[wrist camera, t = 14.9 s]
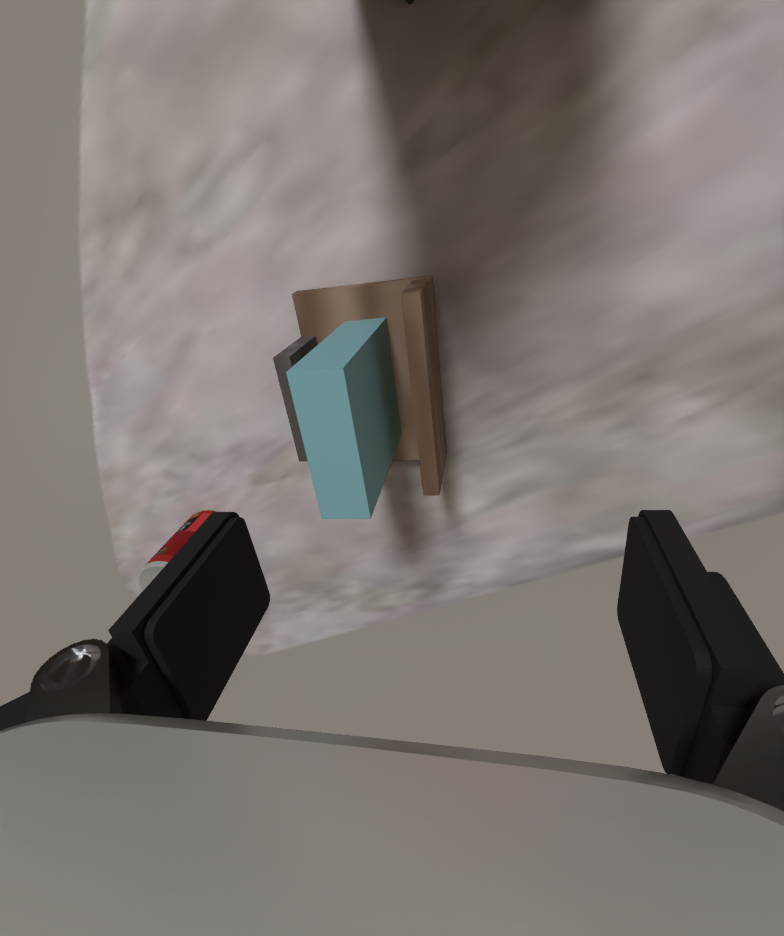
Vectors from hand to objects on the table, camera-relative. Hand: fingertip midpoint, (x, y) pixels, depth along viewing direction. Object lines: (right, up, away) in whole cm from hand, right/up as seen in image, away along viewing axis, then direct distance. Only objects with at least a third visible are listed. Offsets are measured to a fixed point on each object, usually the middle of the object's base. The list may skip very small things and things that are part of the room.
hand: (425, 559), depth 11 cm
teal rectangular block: (-3, +11, +35) cm, 37 cm away
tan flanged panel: (-2, +12, +36) cm, 38 cm away
